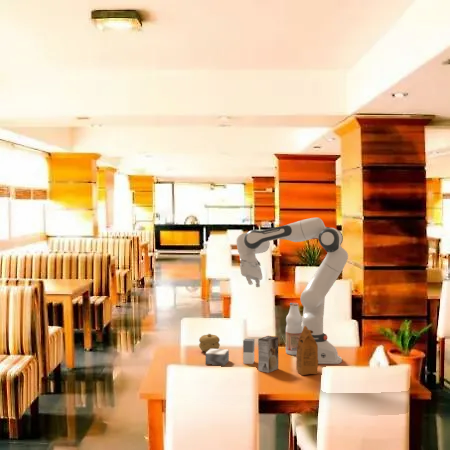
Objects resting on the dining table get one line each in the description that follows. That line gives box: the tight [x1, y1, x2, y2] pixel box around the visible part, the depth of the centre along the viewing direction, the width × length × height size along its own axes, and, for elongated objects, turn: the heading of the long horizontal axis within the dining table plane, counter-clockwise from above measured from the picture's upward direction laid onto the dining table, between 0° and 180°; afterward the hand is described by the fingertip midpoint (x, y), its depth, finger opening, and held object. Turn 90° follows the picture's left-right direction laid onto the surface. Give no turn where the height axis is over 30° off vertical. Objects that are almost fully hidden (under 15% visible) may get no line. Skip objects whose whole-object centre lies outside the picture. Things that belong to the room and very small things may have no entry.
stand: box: [205, 348, 230, 367], centre depth 293 cm, size 10×10×6 cm
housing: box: [242, 338, 255, 365], centre depth 293 cm, size 5×5×12 cm
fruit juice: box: [285, 302, 303, 356], centre depth 312 cm, size 9×9×28 cm
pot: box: [198, 333, 221, 353], centre depth 316 cm, size 12×12×10 cm
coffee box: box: [257, 335, 279, 374], centre depth 279 cm, size 9×6×16 cm
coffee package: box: [295, 326, 319, 376], centre depth 275 cm, size 10×12×22 cm
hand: (254, 285), depth 304 cm, fingers open, 8 cm apart
